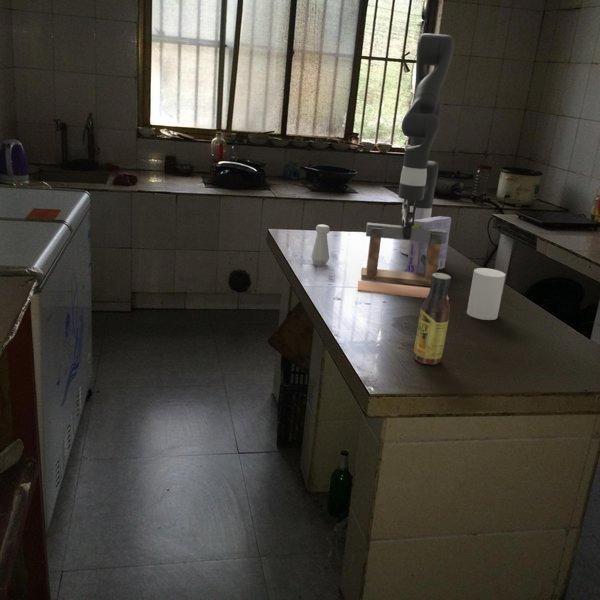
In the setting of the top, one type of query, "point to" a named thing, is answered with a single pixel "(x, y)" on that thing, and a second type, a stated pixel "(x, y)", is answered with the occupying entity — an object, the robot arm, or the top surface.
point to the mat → (393, 289)
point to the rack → (399, 276)
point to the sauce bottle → (433, 322)
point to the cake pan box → (420, 248)
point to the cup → (485, 293)
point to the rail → (398, 231)
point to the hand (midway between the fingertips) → (405, 236)
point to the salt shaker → (321, 246)
